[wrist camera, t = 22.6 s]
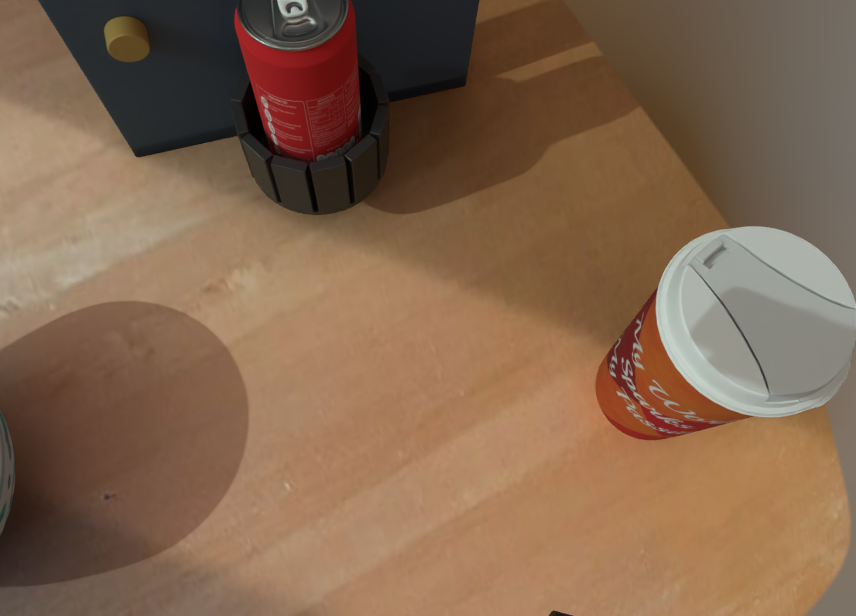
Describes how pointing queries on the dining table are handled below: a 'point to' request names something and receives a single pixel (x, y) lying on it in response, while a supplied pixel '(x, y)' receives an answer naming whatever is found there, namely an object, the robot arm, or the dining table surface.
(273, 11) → the beverage can
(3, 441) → the chinaware
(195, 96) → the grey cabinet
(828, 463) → the dining table surface
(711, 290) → the coffee cup
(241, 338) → the dining table surface
